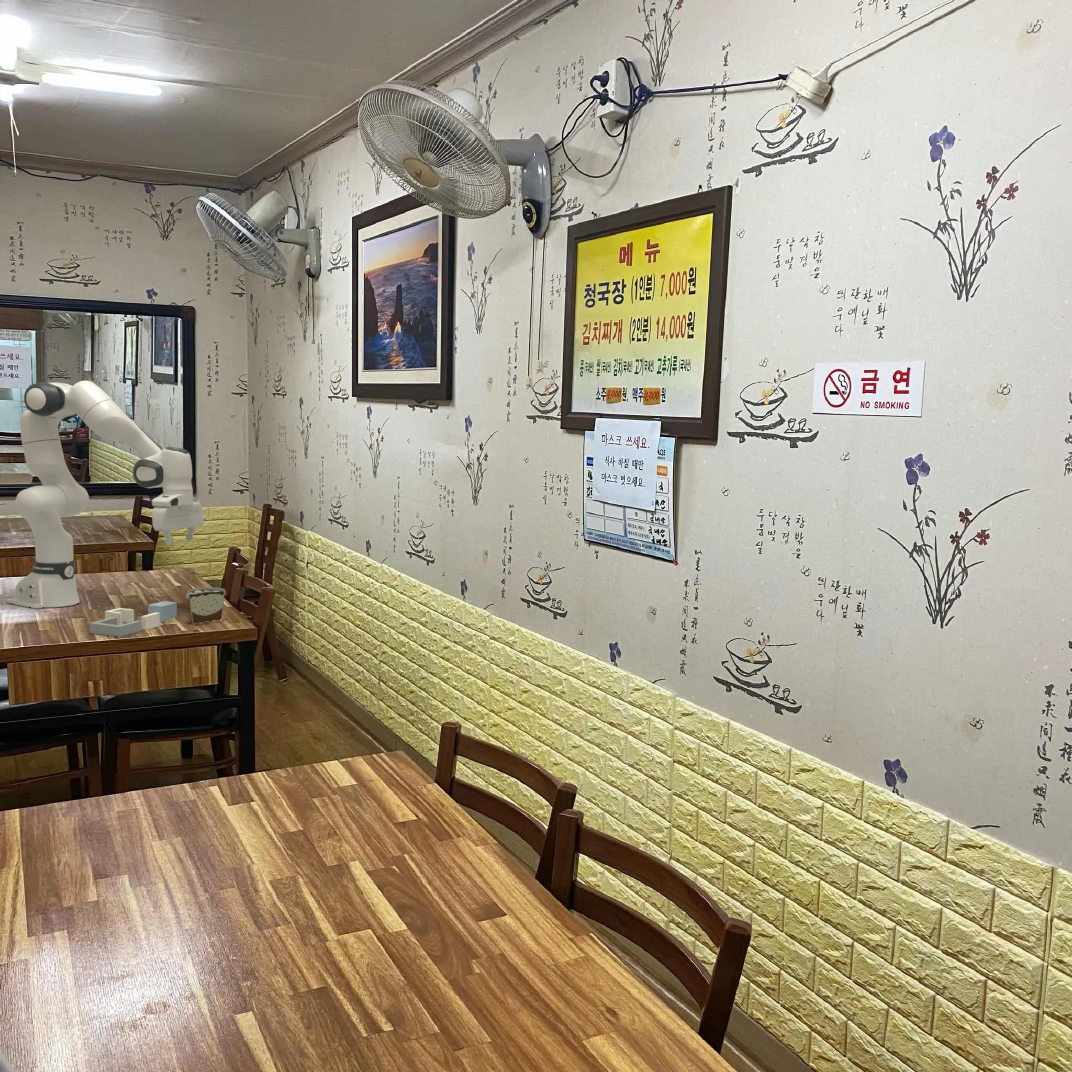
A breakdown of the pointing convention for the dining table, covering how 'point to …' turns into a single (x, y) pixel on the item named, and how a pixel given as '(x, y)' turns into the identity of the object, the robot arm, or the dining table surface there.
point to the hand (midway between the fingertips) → (179, 542)
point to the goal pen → (115, 627)
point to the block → (164, 610)
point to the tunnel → (128, 616)
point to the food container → (206, 604)
